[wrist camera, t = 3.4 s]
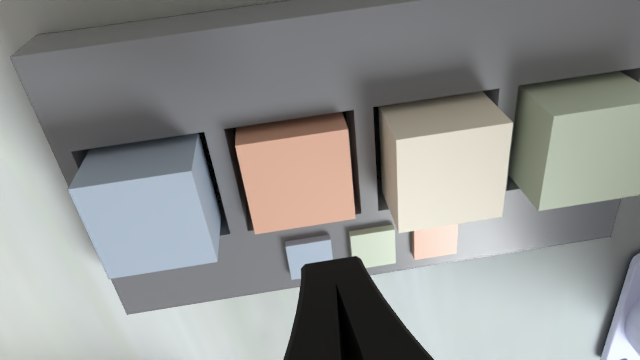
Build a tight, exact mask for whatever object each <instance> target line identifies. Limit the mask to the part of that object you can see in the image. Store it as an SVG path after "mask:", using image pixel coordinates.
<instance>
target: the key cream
mask: <svg viewBox="0 0 640 360" xmlns="http://www.w3.org/2000/svg"><path fill="white" fill-rule="evenodd" d="M378 112H379V135H380V157H381V179H382V193H383V195H384V198H385V200H386V203H387V205H388V208H389V210H390V213H391V215H392V218H393V220H394V223H395V225H396V228H397V231H398V233H403V232H410V231H416V230H422V229H429V228H435V227H441V226H448V225H454V224H460V223H467V222H473V221H479V220H486V219H492V218H498V217H502V215H503V206H504V197H505V189H506V180H507V172H508V163H509V155H510V146H511V138H512V129H513V122H512V121H511V120H510V119H509V118H508V117H507V116H506V115H505V114H504V113H503V112H502V111H501V110H500V109H499V108H498V107H497V106H496V105H495V104H494V103H493V102H492V101H491V100H490V99H489V98H488V97H487V96H486V95H485V93H484V92H483V91H478V92H472V93H465V94H458V95H451V96H445V97H438V98H431V99H424V100H417V101H411V102H404V103H397V104H390V105H383V106H378Z"/></svg>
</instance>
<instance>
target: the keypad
mask: <svg viewBox="0 0 640 360" xmlns="http://www.w3.org/2000/svg"><path fill="white" fill-rule="evenodd" d="M10 58H11V61H12V63H13V65H14V67H15V69H16V72H17V74H18V76H19V78H20V80H21V83H22V85H23V87H24V89H25V91H26V94H27V96H28V98H29V100H30V102H31V105H32V107H33V109H34V111H35V113H36V116H37V118H38V120H39V122H40V124H41V127H42V129H43V131H44V133H45V135H46V138H47V140H48V142H49V144H50V146H51V149H52V151H53V153H54V155H55V157H56V160H57V162H58V164H59V166H60V168H61V171H62V173H63V175H64V177H65V179H66V182H67V184H68V186H70V184H71V183H72V181H73V179H74V177H75V175H76V173H77V172H78V170H79V168H80V166H81V164H82V162H83V160H84V159H85V157H86V155H87V153H88V151H89V149H91V148H98V147H105V146H112V145H119V144H125V143H132V142H139V141H146V140H153V139H159V138H166V137H173V136H180V135H186V134H193V133H200V132H204V133H205V137H206V141H207V145H208V149H209V153H210V157H211V160H212V164H213V168H214V172H215V176H216V180H217V184H218V187H219V191H220V195H221V199H222V203H218V207H219V211H220V214H221V223H220V236H219V249H218V262H214V263H208V264H201V265H195V266H189V267H182V268H176V269H170V270H163V271H157V272H151V273H144V274H138V275H132V276H125V277H119V278H113V279H111V281H112V283H113V285H114V287H115V289H116V292H117V294H118V296H119V298H120V300H121V303H122V305H123V307H124V309H125V311H126V314H127V315H128V314H134V313H140V312H146V311H153V310H159V309H165V308H171V307H177V306H184V305H190V304H196V303H202V302H208V301H215V300H221V299H227V298H233V297H239V296H246V295H252V294H258V293H264V292H270V291H277V290H283V289H289V288H295V287H300V284H301V268H302V267H303V266H304V265H305V264H308V263H315V262H321V261H327V260H333V259H340V258H346V257H352V256H357V257H359V258H360V259H361V260H362V262H363V264H364V266H365V268H366V270H367V272H368V273H369V275H376V274H382V273H388V272H394V271H400V270H407V269H413V268H419V267H425V266H431V265H438V264H444V263H450V262H456V261H462V260H469V259H475V258H481V257H487V256H493V255H500V254H506V253H512V252H518V251H524V250H531V249H537V248H543V247H549V246H555V245H561V244H568V243H574V242H580V241H586V240H592V239H599V238H605V237H611V234H612V230H613V227H614V223H615V219H616V216H617V212H618V208H619V205H620V201H621V198H618V199H612V200H606V201H599V202H593V203H587V204H580V205H574V206H568V207H561V208H555V209H549V210H542V211H538V210H537V209H536V208H535V206H534V205H533V204H532V203H531V201H530V200H529V199H528V198H527V197H526V195H525V194H524V193H523V192H522V190H521V189H520V188H519V187H518V186H517V184H516V183H515V182H514V181H513V179H512V178H511V177H510V176H509V174H508V172H507V180H506V189H505V197H504V206H503V215H502V217H498V218H492V219H486V220H479V221H473V222H467V223H460V224H454V225H448V226H441V227H435V228H429V229H422V230H416V231H410V232H403V233H398V231H397V228H396V225H395V223H394V220H393V218H392V215H391V213H390V210H389V208H388V205H387V203H386V200H385V198H384V195H383V193H382V179H381V178H379V179H377V175H376V155H375V136H374V116H373V107H377V106H383V105H390V104H397V103H404V102H411V101H417V100H424V99H431V98H438V97H445V96H451V95H458V94H465V93H472V92H478V91H483V92H484V93H485V95H486V96H487V97H488V98H489V99H490V100H491V101H492V102H493V103H494V104H495V105H496V106H497V107H498V108H499V109H500V110H501V111H502V112H503V113H504V114H505V115H506V116H507V117H508V118H509V119H510V120H511V121H512V122H513V128H514V120H515V111H516V103H517V94H518V86H519V85H526V84H533V83H540V82H546V81H553V80H560V79H567V78H574V77H580V76H587V75H594V74H601V73H607V72H614V71H620V72H622V73H624V74H625V75H627V76H629V77H630V78H632V79H634V80H636V81H637V82H639V83H640V0H289V1H281V2H274V3H267V4H259V5H252V6H245V7H238V8H230V9H223V10H216V11H208V12H201V13H194V14H187V15H179V16H172V17H165V18H157V19H150V20H143V21H136V22H128V23H121V24H114V25H106V26H99V27H92V28H85V29H77V30H70V31H63V32H56V33H48V34H41V35H36V36H35V37H34V38H32V39H31V40H30V41H29V42H28V43H26V44H25V45H24V46H23V47H22V48H21V49H19V50H18V51H17V52H16V53H15V54H13V55H12V56H11V57H10ZM343 111H346V120H347V127H348V133H349V145H350V157H351V169H352V181H353V194H354V206H355V218H356V219H351V220H345V221H338V222H332V223H325V224H319V225H313V226H306V227H300V228H293V229H287V230H281V231H274V232H268V233H261V234H255V232H254V227H253V223H252V219H251V214H250V210H249V205H248V201H247V196H246V192H245V187H244V183H243V179H242V174H241V170H240V165H239V161H238V156H237V152H236V147H235V139H234V134H233V130H232V128H234V127H241V126H248V125H254V124H261V123H268V122H275V121H282V120H288V119H295V118H302V117H309V116H315V115H322V114H329V113H336V112H343ZM512 137H513V129H512ZM511 145H512V138H511ZM510 154H511V146H510ZM509 162H510V155H509ZM508 171H509V163H508Z"/></svg>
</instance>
